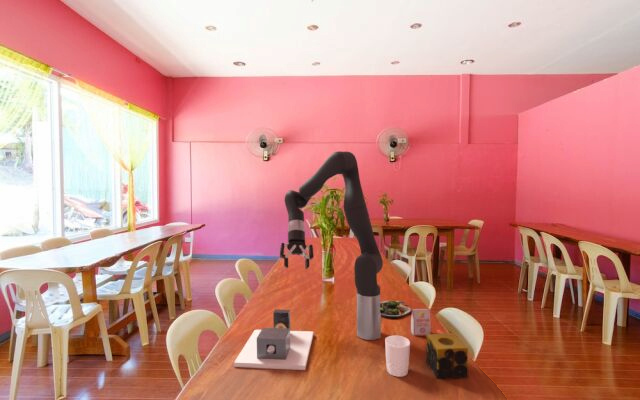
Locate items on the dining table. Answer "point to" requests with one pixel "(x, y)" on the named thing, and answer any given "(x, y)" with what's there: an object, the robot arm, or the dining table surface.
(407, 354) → the white cup
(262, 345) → the block
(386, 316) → the salad plate
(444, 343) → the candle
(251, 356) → the base board
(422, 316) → the white cardboard box
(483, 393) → the dining table surface
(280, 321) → the shaft
